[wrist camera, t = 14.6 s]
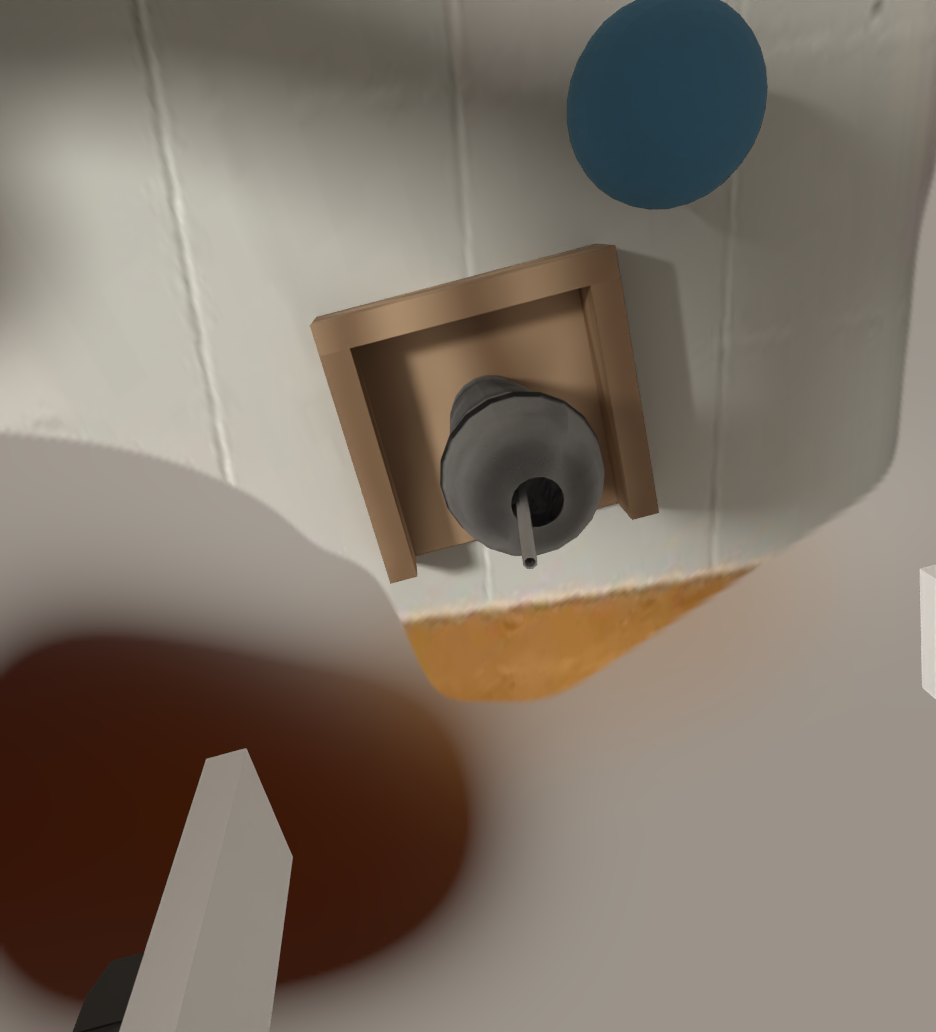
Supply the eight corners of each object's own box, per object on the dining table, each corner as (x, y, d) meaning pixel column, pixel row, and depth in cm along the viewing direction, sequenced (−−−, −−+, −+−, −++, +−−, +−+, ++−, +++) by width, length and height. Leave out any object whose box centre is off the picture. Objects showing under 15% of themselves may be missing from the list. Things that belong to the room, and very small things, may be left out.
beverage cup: (571, 441, 46) (695, 589, 27) (459, 494, 47) (508, 674, 28) (522, 327, 43) (623, 405, 25) (405, 385, 44) (417, 503, 25)
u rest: (390, 557, 48) (390, 583, 45) (316, 317, 43) (310, 325, 39) (638, 491, 48) (659, 512, 45) (596, 243, 43) (615, 245, 40)
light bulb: (503, 117, 40) (548, 76, 29) (629, -5, 39) (727, -97, 28) (601, 245, 43) (676, 253, 32) (722, 135, 42) (845, 103, 31)
